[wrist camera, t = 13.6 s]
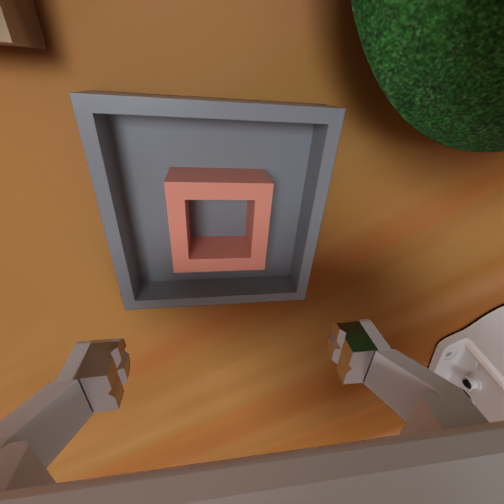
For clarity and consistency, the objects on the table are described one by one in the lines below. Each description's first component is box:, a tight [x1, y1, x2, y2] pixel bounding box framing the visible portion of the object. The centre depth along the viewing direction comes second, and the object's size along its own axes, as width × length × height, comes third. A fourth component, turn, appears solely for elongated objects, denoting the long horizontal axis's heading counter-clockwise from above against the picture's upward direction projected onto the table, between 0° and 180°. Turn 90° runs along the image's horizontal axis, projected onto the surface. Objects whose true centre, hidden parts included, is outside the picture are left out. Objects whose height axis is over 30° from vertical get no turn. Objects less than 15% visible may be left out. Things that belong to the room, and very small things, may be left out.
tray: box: [69, 91, 346, 310], centre depth 18 cm, size 14×14×3 cm
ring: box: [164, 167, 274, 273], centre depth 18 cm, size 6×6×3 cm
